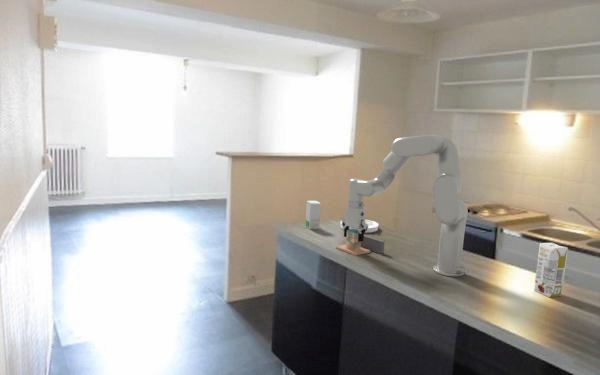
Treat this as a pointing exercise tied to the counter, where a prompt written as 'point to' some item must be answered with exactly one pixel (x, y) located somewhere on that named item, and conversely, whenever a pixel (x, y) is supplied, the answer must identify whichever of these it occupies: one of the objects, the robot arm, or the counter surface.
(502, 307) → the counter surface
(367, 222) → the pan
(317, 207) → the skincare box
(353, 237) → the block
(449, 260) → the robot arm
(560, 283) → the juice carton
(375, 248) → the board
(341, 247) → the terracotta tile
